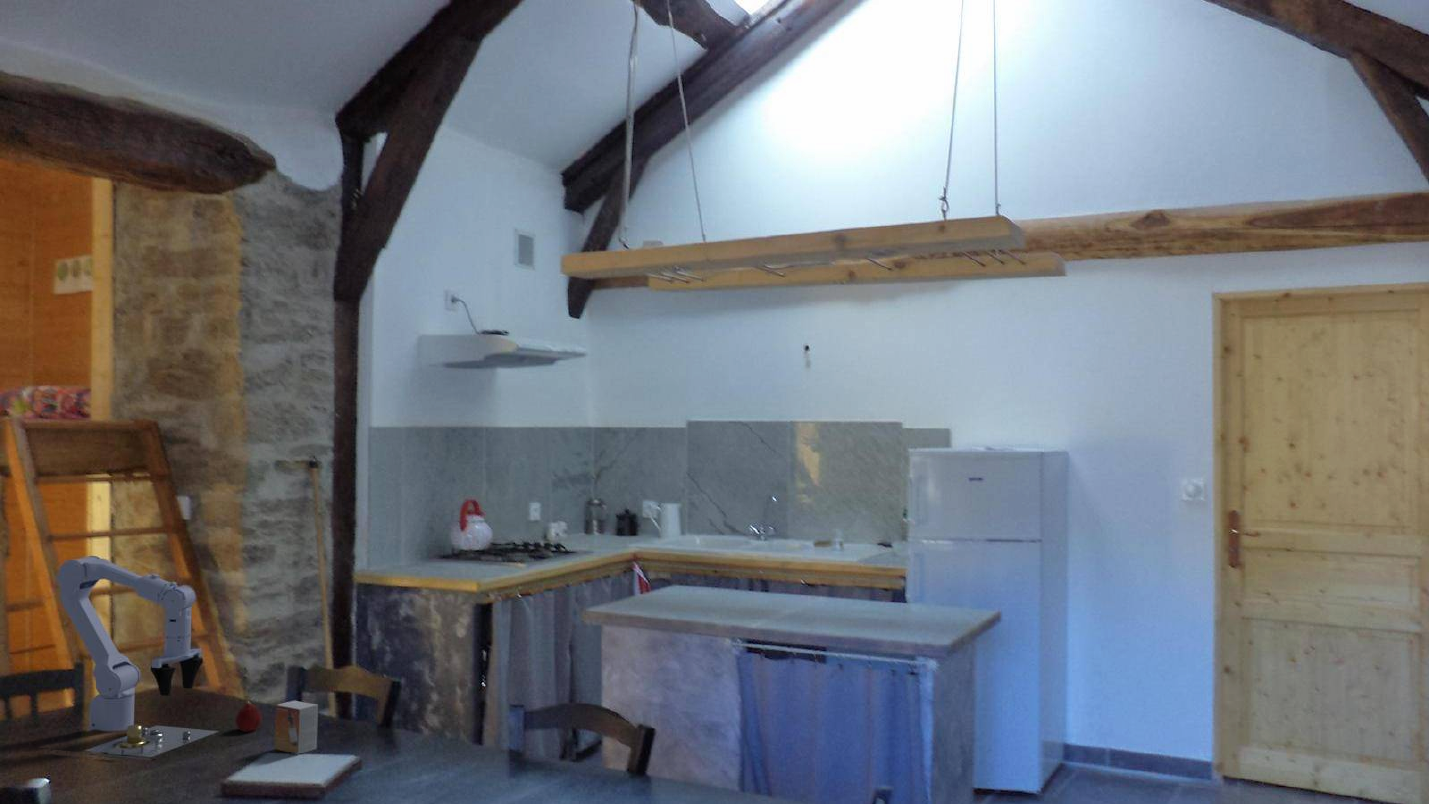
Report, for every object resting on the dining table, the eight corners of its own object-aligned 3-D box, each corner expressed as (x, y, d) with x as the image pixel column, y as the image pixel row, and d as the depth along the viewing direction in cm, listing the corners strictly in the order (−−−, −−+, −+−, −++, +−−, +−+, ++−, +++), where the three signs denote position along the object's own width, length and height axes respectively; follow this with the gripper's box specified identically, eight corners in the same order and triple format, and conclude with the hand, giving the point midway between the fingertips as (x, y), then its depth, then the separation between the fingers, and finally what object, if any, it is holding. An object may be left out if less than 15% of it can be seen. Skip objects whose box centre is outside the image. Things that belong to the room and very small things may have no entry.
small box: (273, 750, 253) (275, 704, 253) (293, 744, 258) (294, 699, 258) (298, 755, 249) (299, 709, 250) (317, 749, 254) (318, 703, 255)
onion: (265, 731, 269) (266, 698, 269) (253, 738, 263) (254, 704, 263) (243, 730, 269) (244, 697, 269) (230, 736, 264) (231, 703, 264)
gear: (113, 750, 248) (113, 728, 248) (134, 743, 254) (134, 721, 254) (133, 753, 246) (134, 730, 246) (154, 746, 252) (155, 724, 252)
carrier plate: (82, 755, 247) (82, 741, 247) (156, 729, 269) (156, 716, 269) (148, 762, 243) (149, 747, 243) (218, 735, 265) (219, 721, 265)
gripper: (169, 642, 260) (168, 699, 259) (212, 632, 274) (211, 686, 273) (145, 640, 261) (143, 697, 261) (188, 630, 275) (187, 684, 275)
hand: (176, 691), depth 267 cm, fingers open, 7 cm apart
